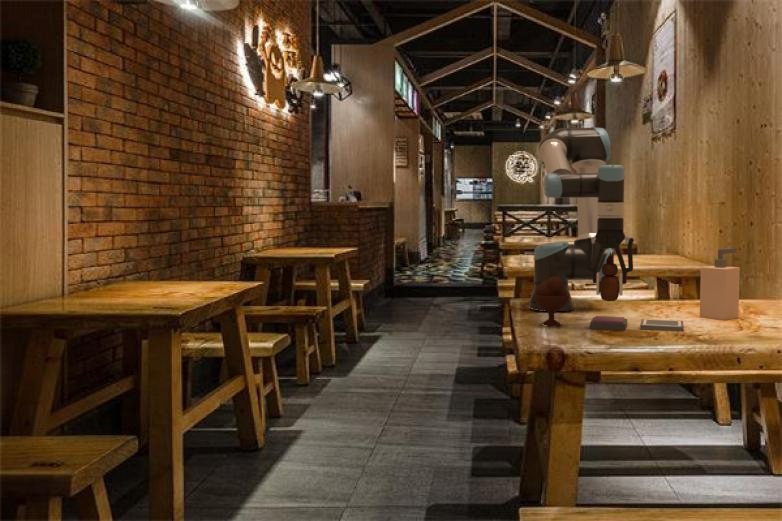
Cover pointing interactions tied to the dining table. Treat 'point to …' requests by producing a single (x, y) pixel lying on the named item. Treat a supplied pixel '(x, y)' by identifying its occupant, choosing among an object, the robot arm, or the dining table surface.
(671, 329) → the marked board
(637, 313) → the dining table surface
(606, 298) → the wooden figurine
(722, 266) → the soap dispenser
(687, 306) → the dining table surface
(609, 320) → the ink pad
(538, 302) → the ice cream bowl
